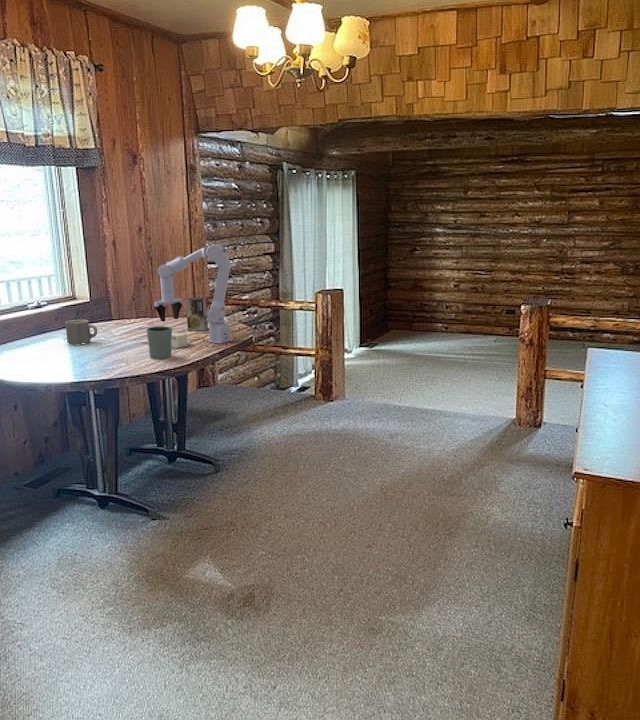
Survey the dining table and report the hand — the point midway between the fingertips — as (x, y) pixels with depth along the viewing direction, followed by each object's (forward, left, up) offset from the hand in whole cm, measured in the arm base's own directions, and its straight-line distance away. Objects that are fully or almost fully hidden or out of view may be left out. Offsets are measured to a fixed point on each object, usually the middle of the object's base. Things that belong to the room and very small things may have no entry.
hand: (169, 320), depth 294 cm
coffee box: (+11, -26, -10) cm, 30 cm away
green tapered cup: (-24, +24, -10) cm, 35 cm away
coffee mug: (+30, +27, -10) cm, 42 cm away
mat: (-5, +6, -10) cm, 12 cm away
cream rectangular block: (-11, +6, -10) cm, 16 cm away
